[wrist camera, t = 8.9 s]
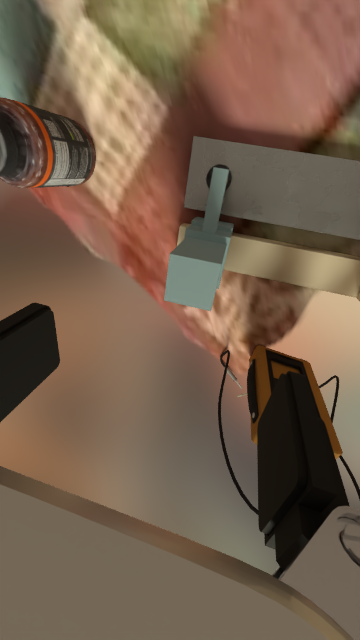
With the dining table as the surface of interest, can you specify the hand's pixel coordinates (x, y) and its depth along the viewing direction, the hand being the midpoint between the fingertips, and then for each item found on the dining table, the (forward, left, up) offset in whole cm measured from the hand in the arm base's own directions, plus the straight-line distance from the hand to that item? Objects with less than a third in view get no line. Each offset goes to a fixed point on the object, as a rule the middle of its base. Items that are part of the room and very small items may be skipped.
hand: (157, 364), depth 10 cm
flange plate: (-8, -6, -21) cm, 24 cm away
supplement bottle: (+17, -6, -22) cm, 28 cm away
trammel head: (0, -2, -21) cm, 21 cm away
